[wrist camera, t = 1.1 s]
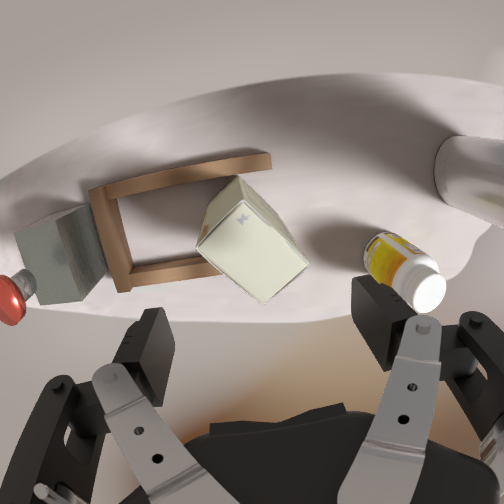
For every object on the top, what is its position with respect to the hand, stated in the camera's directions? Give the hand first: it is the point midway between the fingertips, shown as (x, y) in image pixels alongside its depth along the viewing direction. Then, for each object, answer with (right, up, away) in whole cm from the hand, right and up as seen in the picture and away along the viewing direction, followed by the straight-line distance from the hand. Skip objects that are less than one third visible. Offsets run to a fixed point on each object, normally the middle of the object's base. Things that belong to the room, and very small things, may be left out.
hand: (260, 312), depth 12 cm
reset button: (-20, 0, +8) cm, 21 cm away
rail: (-6, +6, +17) cm, 19 cm away
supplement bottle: (+15, +2, +20) cm, 25 cm away
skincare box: (-1, +7, +17) cm, 19 cm away
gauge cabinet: (-20, +4, +17) cm, 27 cm away
